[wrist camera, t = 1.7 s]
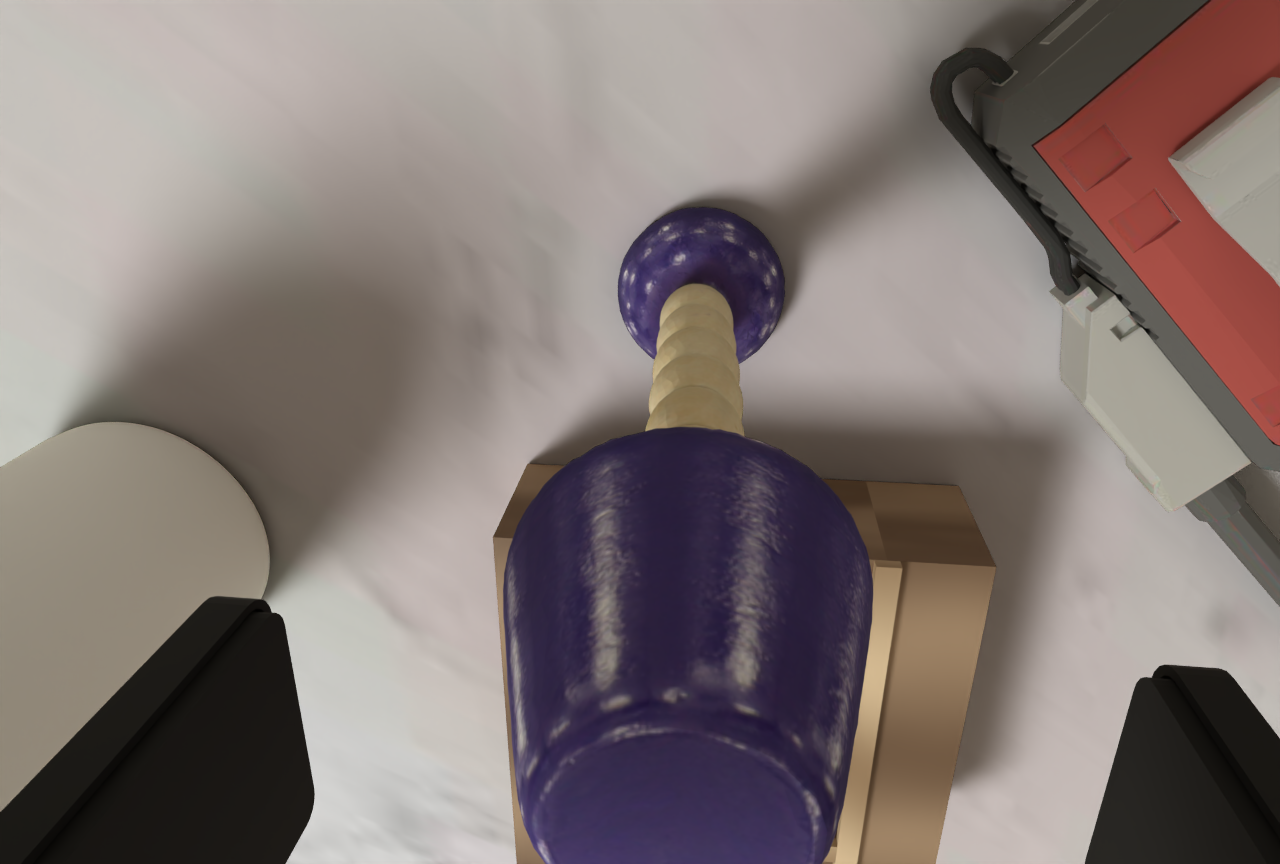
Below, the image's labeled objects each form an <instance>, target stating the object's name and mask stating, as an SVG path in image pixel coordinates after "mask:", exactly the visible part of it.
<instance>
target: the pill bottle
mask: <svg viewBox="0 0 1280 864" xmlns="http://www.w3.org/2000/svg"><path fill="white" fill-rule="evenodd" d="M269 568H270V554H269V545H268V540H267V535H266V532H265V528H264V526H263V523H262V520H261V518H260V516H259V514H258V512H257V510H256V508H255V506H254V504H253V502H252V501H251V499H250V498H249V496H248V495H247V493H246V492H245V490H244V489H243V488H242V486H241V485H240V484H239V483H238V482H237V480H236V479H235V478H234V477H233V476H232V475H231V474H230V473H229V472H228V471H227V470H226V469H225V468H224V467H223V466H222V465H221V464H220V463H218V462H217V461H216V460H215V459H214V458H212V457H211V456H210V455H208V454H207V453H205V452H204V451H203V450H201V449H200V448H198V447H196V446H195V445H193V444H191V443H190V442H188V441H186V440H184V439H182V438H180V437H178V436H176V435H173V434H171V433H168V432H166V431H163V430H160V429H157V428H154V427H150V426H146V425H141V424H135V423H127V422H101V423H93V424H88V425H83V426H79V427H76V428H73V429H70V430H68V431H65V432H63V433H61V434H59V435H57V436H54V437H52V438H49V439H47V440H45V441H43V442H42V443H40V444H38V445H37V446H35V447H33V448H32V449H30V450H28V451H27V452H25V453H23V454H22V455H20V456H18V457H17V458H15V459H13V460H12V461H10V462H8V463H7V464H5V465H3V466H2V467H0V812H1V811H2V810H3V809H4V808H5V807H6V806H7V805H8V804H9V803H10V801H11V800H12V799H13V798H14V797H15V796H16V795H17V794H18V793H19V792H20V791H21V790H22V789H23V788H24V787H25V786H26V785H27V784H28V783H29V782H30V781H31V780H32V779H33V778H34V777H35V776H36V775H37V774H38V773H39V772H40V770H41V769H42V768H43V767H44V766H45V765H46V764H47V763H48V762H49V761H50V760H51V759H52V758H53V757H54V756H55V755H56V754H57V753H58V752H59V751H60V750H61V749H62V748H63V747H64V746H65V745H66V744H67V743H68V742H69V741H70V739H71V738H72V737H73V736H74V735H75V734H76V733H77V732H78V731H79V730H80V729H81V728H82V727H83V726H84V725H85V724H86V723H87V722H88V721H89V720H90V719H91V718H92V717H93V716H94V715H95V714H96V713H97V712H98V711H99V710H100V708H101V707H102V706H103V705H104V704H105V703H106V702H107V701H108V700H109V699H110V698H111V697H112V696H113V695H114V694H115V693H116V692H117V691H118V690H119V689H120V688H121V687H122V686H123V685H124V684H125V683H126V682H127V681H128V680H129V679H130V677H131V676H132V675H133V674H134V673H135V672H136V671H137V670H138V669H139V668H140V667H141V666H142V665H143V664H144V663H145V662H146V661H147V660H148V659H149V658H150V657H151V656H152V655H153V654H154V653H155V652H156V651H157V650H158V649H159V648H160V646H161V645H162V644H163V643H164V642H165V641H166V640H167V639H168V638H169V637H170V636H171V635H172V634H173V633H174V632H175V631H176V630H177V629H178V628H179V627H180V626H181V625H182V624H183V623H184V622H185V621H186V620H187V619H188V618H189V617H190V615H191V614H192V613H193V612H194V611H195V610H196V609H197V608H198V607H199V606H200V605H201V604H202V603H203V602H204V601H206V600H207V599H208V598H210V597H214V596H225V597H239V598H253V599H261V598H262V596H263V594H264V591H265V588H266V585H267V581H268V576H269Z"/></svg>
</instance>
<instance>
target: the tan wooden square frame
mask: <svg viewBox="0 0 1280 864" xmlns="http://www.w3.org/2000/svg"><path fill="white" fill-rule="evenodd" d="M563 467H564V466H562V465H542V464H527V466H526V468H525V470H524V473H523V475H522V477H521V479H520V481H519V483H518V485H517V487H516V490H515V492H514V494H513V496H512V498H511V500H510V502H509V504H508V506H507V509H506V511H505V513H504V515H503V517H502V519H501V521H500V523H499V526H498V528H497V530H496V532H495V534H494V536H493V544H494V558H495V572H496V585H497V599H498V612H499V626H500V640H501V653H502V667H503V681H504V694H505V708H506V721H507V735H508V749H509V762H510V776H511V790H512V803H513V817H514V830H515V844H516V858H517V864H545V862H544V861H543V860H542V858H541V857H540V856H539V854H538V853H537V852H536V850H535V849H534V847H533V845H532V843H531V840H530V838H529V836H528V834H527V831H526V829H525V827H524V824H523V819H522V815H521V811H520V806H519V802H518V796H517V787H516V777H515V767H514V757H513V747H512V732H511V714H510V704H509V695H508V685H507V661H506V644H505V628H504V618H503V585H504V572H505V567H506V561H507V556H508V551H509V548H510V545H511V542H512V539H513V536H514V533H515V530H516V528H517V525H518V523H519V521H520V520H521V518H522V516H523V514H524V512H525V510H526V509H527V507H528V506H529V504H530V503H531V501H532V500H533V499H534V498H535V497H536V496H537V494H538V493H539V491H540V490H541V488H542V487H543V486H544V484H545V483H546V482H547V481H548V480H549V479H550V478H551V477H552V476H553V475H554V474H555V473H557V472H558V471H559V470H560V469H562V468H563ZM822 480H823V481H824V482H825V483H826V484H828V486H829V487H830V488H831V489H832V490H833V491H834V492H835V494H836V495H837V496H838V497H839V498H840V500H841V501H842V503H843V504H844V506H845V507H846V508H847V510H848V511H849V512H850V514H851V515H852V517H853V519H854V521H855V524H856V526H857V529H858V531H859V533H860V535H861V537H862V540H863V542H864V544H865V546H866V548H867V552H868V556H869V561H870V566H871V572H872V578H873V611H872V625H871V632H870V640H869V649H868V655H867V661H866V669H865V676H864V683H863V690H862V696H861V702H860V709H859V718H858V726H857V730H856V734H855V739H854V746H853V752H852V759H851V765H850V771H849V776H848V783H847V789H846V795H845V800H844V806H843V809H842V813H841V816H840V819H839V822H838V826H837V831H836V835H835V837H834V840H833V843H832V845H831V848H830V851H829V853H828V855H827V857H826V858H825V860H824V861H823V863H822V864H935V863H936V859H937V854H938V849H939V844H940V839H941V834H942V829H943V824H944V820H945V815H946V810H947V805H948V800H949V795H950V790H951V786H952V781H953V776H954V771H955V766H956V761H957V756H958V752H959V747H960V742H961V737H962V732H963V727H964V722H965V718H966V713H967V708H968V703H969V698H970V693H971V688H972V684H973V679H974V674H975V669H976V664H977V659H978V654H979V649H980V645H981V640H982V635H983V630H984V625H985V620H986V615H987V611H988V606H989V601H990V596H991V591H992V586H993V581H994V577H995V572H996V565H995V563H994V561H993V559H992V556H991V554H990V552H989V550H988V548H987V546H986V543H985V541H984V539H983V537H982V535H981V533H980V531H979V528H978V526H977V524H976V522H975V520H974V518H973V515H972V513H971V511H970V509H969V507H968V505H967V503H966V500H965V498H964V496H963V494H962V492H961V490H960V488H959V486H949V485H930V484H910V483H891V482H872V481H852V480H833V479H822Z"/></svg>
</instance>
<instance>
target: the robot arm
mask: <svg viewBox="0 0 1280 864" xmlns="http://www.w3.org/2000/svg"><path fill="white" fill-rule="evenodd" d="M314 795H315V794H314V785H313V779H312V774H311V768H310V762H309V757H308V751H307V746H306V740H305V735H304V729H303V724H302V718H301V712H300V707H299V701H298V696H297V690H296V685H295V679H294V674H293V668H292V662H291V657H290V651H289V646H288V640H287V635H286V629H285V624H284V621H283V618H282V617H281V616H280V615H279V614H277V613H272V612H271V609H270V606H269V605H268V604H267V602H266V601H264V600H261V599H253V598H239V597H225V596H214V597H210V598H208V599H207V600H206V601H204V602H203V603H202V604H201V605H200V606H199V607H198V608H197V609H196V610H195V611H194V612H193V613H192V614H191V615H190V617H189V618H188V619H187V620H186V621H185V622H184V623H183V624H182V625H181V626H180V627H179V628H178V629H177V630H176V631H175V632H174V633H173V634H172V635H171V636H170V637H169V638H168V639H167V640H166V641H165V642H164V643H163V644H162V645H161V646H160V648H159V649H158V650H157V651H156V652H155V653H154V654H153V655H152V656H151V657H150V658H149V659H148V660H147V661H146V662H145V663H144V664H143V665H142V666H141V667H140V668H139V669H138V670H137V671H136V672H135V673H134V674H133V675H132V676H131V677H130V679H129V680H128V681H127V682H126V683H125V684H124V685H123V686H122V687H121V688H120V689H119V690H118V691H117V692H116V693H115V694H114V695H113V696H112V697H111V698H110V699H109V700H108V701H107V702H106V703H105V704H104V705H103V706H102V707H101V708H100V710H99V711H98V712H97V713H96V714H95V715H94V716H93V717H92V718H91V719H90V720H89V721H88V722H87V723H86V724H85V725H84V726H83V727H82V728H81V729H80V730H79V731H78V732H77V733H76V734H75V735H74V736H73V737H72V738H71V739H70V741H69V742H68V743H67V744H66V745H65V746H64V747H63V748H62V749H61V750H60V751H59V752H58V753H57V754H56V755H55V756H54V757H53V758H52V759H51V760H50V761H49V762H48V763H47V764H46V765H45V766H44V767H43V768H42V769H41V770H40V772H39V773H38V774H37V775H36V776H35V777H34V778H33V779H32V780H31V781H30V782H29V783H28V784H27V785H26V786H25V787H24V788H23V789H22V790H21V791H20V792H19V793H18V794H17V795H16V796H15V797H14V798H13V799H12V800H11V801H10V803H9V804H8V805H7V806H6V807H5V808H4V809H3V810H2V811H1V812H0V864H285V863H286V862H287V860H288V858H289V856H290V854H291V853H292V851H293V849H294V847H295V845H296V844H297V842H298V840H299V838H300V837H301V835H302V833H303V831H304V829H305V828H306V826H307V824H308V821H309V819H310V816H311V813H312V810H313V805H314ZM1085 864H1280V738H1279V737H1278V736H1277V734H1276V733H1275V732H1274V730H1273V729H1272V728H1271V726H1270V725H1269V724H1268V723H1267V721H1266V720H1265V719H1264V717H1263V716H1262V715H1261V713H1260V712H1259V711H1258V709H1257V708H1256V707H1255V706H1254V704H1253V703H1252V702H1251V700H1250V699H1249V698H1248V696H1247V695H1246V694H1245V692H1244V691H1243V690H1242V688H1241V687H1240V686H1239V685H1238V683H1237V682H1236V681H1235V679H1234V678H1233V677H1232V676H1231V675H1230V674H1229V673H1228V672H1227V671H1225V670H1222V669H1219V668H1205V667H1191V666H1177V665H1162V666H1159V667H1158V668H1157V669H1156V671H1155V672H1154V674H1153V676H1152V678H1148V677H1144V678H1141V679H1140V680H1139V681H1138V682H1137V684H1136V686H1135V688H1134V692H1133V695H1132V699H1131V702H1130V706H1129V709H1128V713H1127V716H1126V720H1125V723H1124V727H1123V730H1122V734H1121V737H1120V741H1119V744H1118V748H1117V751H1116V755H1115V758H1114V762H1113V765H1112V769H1111V772H1110V776H1109V779H1108V783H1107V786H1106V790H1105V793H1104V797H1103V800H1102V804H1101V807H1100V811H1099V814H1098V818H1097V821H1096V825H1095V829H1094V832H1093V836H1092V839H1091V843H1090V846H1089V850H1088V853H1087V857H1086V860H1085Z"/></svg>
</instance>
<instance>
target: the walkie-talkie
mask: <svg viewBox="0 0 1280 864" xmlns="http://www.w3.org/2000/svg"><path fill="white" fill-rule="evenodd" d="M973 67H976V68H978V69H979V70H981V71H983V72H984V73H986V74H987V75H988V76H989V79H988V80H987V81H986V82H985V83H983V84H982V85H981V86H980V87H979V88H978V89H977V90H976V91H975V94H974V103H973V112H972V120H971V125H970V124H969V123H968V122H967V120H966V119H965V118H964V117H963V115H962V114H961V112H960V111H959V109H958V107H957V106H956V104H955V102H954V98H953V94H952V83H953V81H954V79H955V78H956V76H957V75H958V74H960V73H962V72H964V71H965V70H967V69H969V68H973ZM930 93H931V99H932V102H933V104H934V107H935V109H936V112H937V114H938V117H939V119H940V121H941V122H942V123H943V124H944V125H945V127H946V128H947V129H948V130H949V131H950V133H951V134H952V135H953V136H954V137H955V139H956V140H957V141H958V142H959V143H960V145H961V146H962V147H963V148H964V149H965V150H966V152H967V153H968V154H969V155H970V156H971V158H972V159H973V160H974V161H975V162H976V164H977V165H978V166H979V167H980V168H981V170H982V171H983V172H984V173H985V174H986V176H987V177H988V178H989V179H990V180H991V182H992V183H993V184H994V185H995V186H996V188H997V189H998V190H999V191H1000V192H1001V194H1002V195H1003V196H1004V197H1005V198H1006V200H1007V201H1008V202H1009V203H1010V204H1011V206H1012V207H1013V208H1014V209H1015V210H1016V212H1017V213H1018V214H1019V215H1020V216H1021V218H1022V219H1023V220H1024V222H1025V223H1026V224H1027V226H1028V227H1029V228H1030V229H1031V231H1032V232H1033V233H1034V235H1035V236H1036V237H1037V239H1038V240H1039V241H1040V242H1041V244H1042V245H1043V246H1044V248H1045V250H1046V252H1047V255H1048V258H1049V267H1050V274H1051V276H1052V279H1053V281H1054V283H1055V285H1056V287H1054V288H1053V289H1052V290H1051V291H1049V292H1050V293H1051V294H1052V296H1053V297H1054V298H1055V299H1056V300H1057V302H1058V303H1059V304H1060V305H1061V306H1062V308H1063V317H1062V337H1061V356H1060V375H1061V380H1062V381H1063V383H1064V384H1065V385H1066V386H1067V387H1068V388H1069V390H1070V391H1071V392H1072V393H1073V394H1074V396H1075V397H1076V398H1077V399H1078V400H1079V401H1080V403H1081V404H1082V405H1083V406H1084V407H1085V408H1086V410H1087V411H1088V412H1089V413H1090V414H1091V415H1092V417H1093V418H1094V419H1095V420H1096V421H1097V423H1098V424H1099V425H1100V426H1101V427H1102V428H1103V430H1104V431H1105V432H1106V433H1107V434H1108V435H1109V437H1110V438H1111V439H1112V440H1113V441H1114V442H1115V444H1116V445H1117V446H1118V447H1119V448H1120V450H1121V451H1122V452H1123V453H1124V454H1125V455H1126V466H1127V467H1128V468H1129V469H1130V470H1131V472H1132V473H1133V474H1134V475H1135V476H1136V477H1137V478H1138V480H1139V481H1140V482H1141V483H1142V484H1143V485H1144V487H1145V488H1146V489H1147V490H1148V491H1149V492H1150V493H1151V495H1152V496H1153V497H1154V498H1155V499H1156V500H1157V501H1158V502H1159V503H1160V504H1161V506H1162V507H1163V508H1164V509H1165V510H1166V511H1168V512H1171V511H1176V510H1178V509H1179V508H1181V507H1182V506H1184V505H1185V506H1186V507H1187V508H1188V509H1189V511H1190V512H1191V513H1192V514H1193V515H1194V516H1195V517H1196V518H1197V519H1198V520H1200V521H1204V522H1208V524H1209V525H1210V526H1211V527H1212V528H1213V529H1214V531H1215V532H1216V533H1217V534H1218V535H1219V536H1220V538H1221V539H1222V540H1223V541H1224V542H1225V543H1226V545H1227V546H1228V547H1229V548H1230V549H1231V550H1232V552H1233V553H1234V554H1235V555H1236V556H1237V557H1238V559H1239V560H1240V561H1241V562H1242V563H1243V564H1244V566H1245V567H1246V568H1247V569H1248V570H1249V571H1250V573H1251V574H1252V575H1253V576H1254V577H1255V578H1256V580H1257V581H1258V582H1259V583H1260V584H1261V585H1262V587H1263V588H1264V589H1265V590H1266V591H1267V592H1268V594H1269V595H1270V596H1271V597H1272V598H1273V599H1274V601H1275V602H1276V603H1277V604H1278V605H1279V606H1280V542H1279V541H1278V540H1277V538H1276V537H1275V536H1274V535H1273V534H1272V533H1271V531H1270V530H1269V529H1268V528H1267V527H1266V525H1265V524H1264V523H1263V522H1262V521H1261V519H1260V518H1259V517H1258V516H1257V515H1256V514H1255V512H1254V511H1253V510H1252V509H1251V508H1250V506H1249V505H1248V504H1247V503H1246V502H1245V500H1246V494H1245V490H1244V488H1243V487H1242V486H1241V485H1240V484H1239V482H1238V481H1237V480H1236V479H1235V477H1234V476H1233V474H1235V473H1236V472H1238V471H1239V470H1241V469H1242V468H1244V467H1246V466H1247V465H1249V464H1250V463H1251V462H1253V463H1255V464H1256V465H1257V466H1258V467H1259V468H1263V469H1268V470H1273V471H1278V472H1280V0H1076V1H1075V2H1074V3H1073V4H1072V5H1071V6H1070V7H1069V8H1067V9H1066V10H1065V11H1064V12H1063V13H1062V14H1061V15H1060V16H1059V17H1057V18H1056V19H1055V20H1054V21H1053V22H1052V23H1051V24H1050V25H1048V26H1047V27H1046V28H1045V29H1044V30H1043V31H1042V32H1041V33H1039V34H1038V35H1037V36H1036V37H1035V38H1034V39H1033V40H1032V41H1030V42H1029V43H1028V44H1027V45H1026V46H1025V47H1024V48H1023V49H1022V50H1020V51H1019V52H1018V53H1017V54H1016V55H1015V56H1014V57H1013V58H1011V59H1010V60H1009V61H1008V62H1007V63H1006V62H1005V61H1004V60H1003V59H1002V58H1001V57H1000V56H998V55H996V54H994V53H992V52H990V51H988V50H986V49H981V48H965V49H963V50H961V51H959V52H958V53H956V54H954V55H952V56H951V57H949V58H947V59H945V60H943V61H942V62H941V64H940V65H939V67H938V68H937V70H936V71H935V72H934V74H933V78H932V82H931V87H930ZM1064 242H1065V243H1066V245H1065V243H1064ZM1070 254H1072V255H1073V256H1075V257H1076V258H1078V259H1079V262H1078V264H1079V266H1080V267H1081V268H1082V269H1084V270H1085V271H1086V272H1088V273H1089V274H1091V275H1092V278H1091V277H1090V276H1089V275H1087V274H1086V273H1084V274H1083V275H1082V276H1080V277H1079V278H1077V277H1075V276H1074V275H1073V274H1072V267H1071V258H1070Z"/></svg>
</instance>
